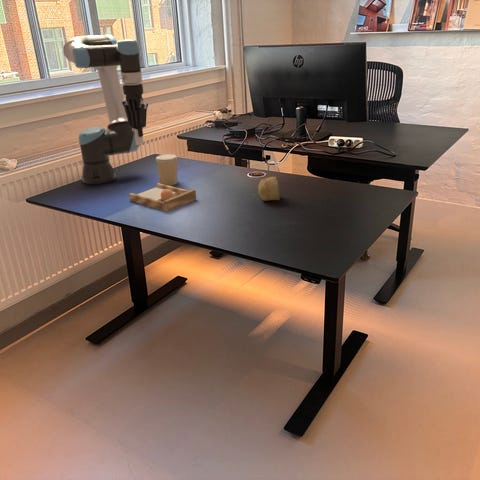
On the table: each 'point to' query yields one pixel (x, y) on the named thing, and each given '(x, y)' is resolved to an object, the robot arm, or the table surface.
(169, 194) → the ball
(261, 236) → the table surface
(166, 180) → the coffee cup
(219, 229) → the table surface
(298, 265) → the table surface
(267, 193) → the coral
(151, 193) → the mat
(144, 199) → the lane frame
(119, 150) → the robot arm
